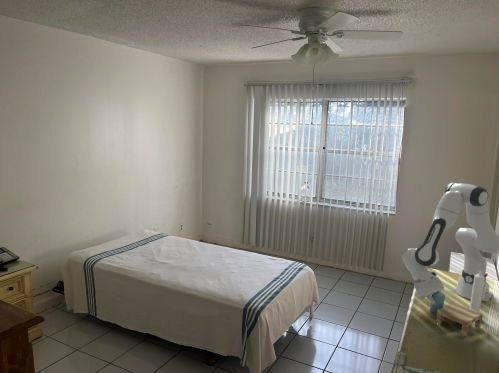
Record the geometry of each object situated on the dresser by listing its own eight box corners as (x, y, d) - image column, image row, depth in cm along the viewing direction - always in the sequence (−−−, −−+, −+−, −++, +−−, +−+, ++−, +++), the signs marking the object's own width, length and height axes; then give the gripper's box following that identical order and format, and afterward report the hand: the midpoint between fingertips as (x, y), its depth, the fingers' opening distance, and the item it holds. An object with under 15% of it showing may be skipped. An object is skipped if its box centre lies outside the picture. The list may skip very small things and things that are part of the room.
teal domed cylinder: (433, 308, 203) (435, 290, 201) (444, 313, 198) (447, 295, 197) (427, 311, 199) (430, 293, 198) (438, 316, 195) (441, 297, 193)
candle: (483, 320, 192) (491, 273, 189) (468, 318, 194) (475, 271, 190) (478, 314, 199) (485, 268, 195) (463, 312, 201) (470, 267, 197)
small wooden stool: (451, 315, 197) (453, 302, 195) (480, 327, 186) (482, 313, 184) (435, 323, 187) (437, 309, 186) (465, 336, 176) (467, 322, 175)
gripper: (417, 279, 195) (433, 304, 189) (437, 271, 208) (452, 295, 201) (408, 284, 200) (423, 309, 193) (428, 276, 212) (443, 300, 206)
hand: (438, 302), depth 197 cm, fingers closed on teal domed cylinder, 6 cm apart
